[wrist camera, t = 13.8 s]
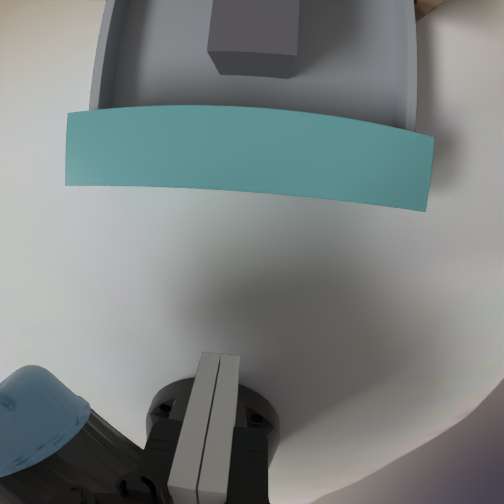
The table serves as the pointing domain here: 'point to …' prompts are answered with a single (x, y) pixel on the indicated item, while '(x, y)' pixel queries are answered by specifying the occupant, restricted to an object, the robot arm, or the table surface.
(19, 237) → the table surface
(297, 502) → the table surface
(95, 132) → the drawer
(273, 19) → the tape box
